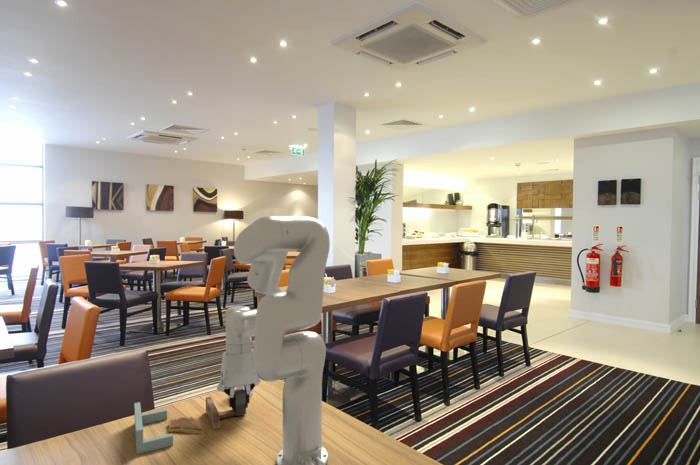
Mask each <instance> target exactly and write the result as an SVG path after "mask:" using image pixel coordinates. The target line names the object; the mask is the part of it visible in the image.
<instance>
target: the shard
mask: <svg viewBox="0 0 700 465" xmlns="http://www.w3.org/2000/svg"><path fill="white" fill-rule="evenodd" d="M167 423H168V424H169V426H168V429H167V432H168V433H173V432H174V433H176V432H178V433H184V434H185V433H187V434H202V433H203V431H204V430H203V428H202V427H201V426H200V425H199V423H198V422H197V420H196V419H195V418H194V417H193V416H181V417H178V418H173V419H170V420H169V421H168V422H167Z"/></svg>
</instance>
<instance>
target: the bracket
mask: <svg viewBox="0 0 700 465" xmlns="http://www.w3.org/2000/svg"><path fill="white" fill-rule="evenodd" d="M133 404H134V406H133V408H134V433H135V447H136V448H135V450H136V455H139V454H143V453H147V452H151V451H155V450H160V449H164V448H167V447H172V446H174V435H173V433H168V434H164V435H159V436H155V437H151V438H147V439H144V428H143V425H146V424H150V423H155V422H159V421H165V420H167V419H168V410H167V408H163V409H159V410H154V411H148V412H144V413H142V405H141V402H139V401H138V402H133Z"/></svg>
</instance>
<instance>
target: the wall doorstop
mask: <svg viewBox="0 0 700 465" xmlns="http://www.w3.org/2000/svg"><path fill="white" fill-rule="evenodd" d="M234 395H235V399H236V410H234V411H233V409H232V408H231V409H229V410H224V411H219V410H218V408H217V407H216V405H215V402H214V400H213V399H212V396H208V397H207V396H206V397H205V412H206V414H207V416H208V419H209V421H210V423H211V425H212V428H213V429H214V430H215V429H219V428H220V419H223V418H229V417H233V416H236V417H237V416H238V417H239V416H243V415H246V414H247V408H246V392H245V391H244V389H238V390H236V389H234Z"/></svg>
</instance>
